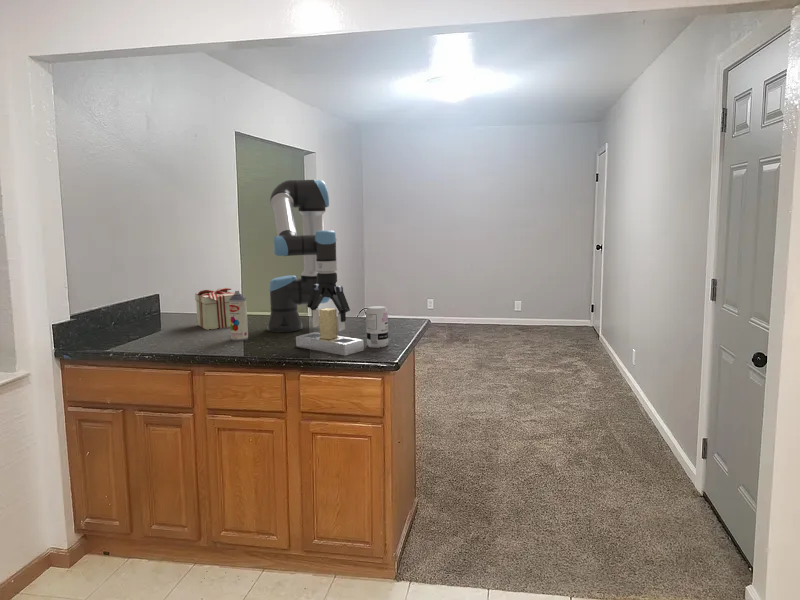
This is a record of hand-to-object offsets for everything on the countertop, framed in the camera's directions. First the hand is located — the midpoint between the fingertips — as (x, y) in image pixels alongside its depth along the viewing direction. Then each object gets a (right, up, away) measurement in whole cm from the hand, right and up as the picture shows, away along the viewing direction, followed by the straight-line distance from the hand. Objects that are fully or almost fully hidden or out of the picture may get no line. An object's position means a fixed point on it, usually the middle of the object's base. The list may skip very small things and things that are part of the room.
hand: (328, 328), depth 237 cm
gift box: (-56, -2, +51) cm, 76 cm away
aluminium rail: (0, -8, +1) cm, 8 cm away
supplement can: (+18, -7, +4) cm, 20 cm away
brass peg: (0, -8, +1) cm, 8 cm away
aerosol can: (-39, -6, +21) cm, 45 cm away
